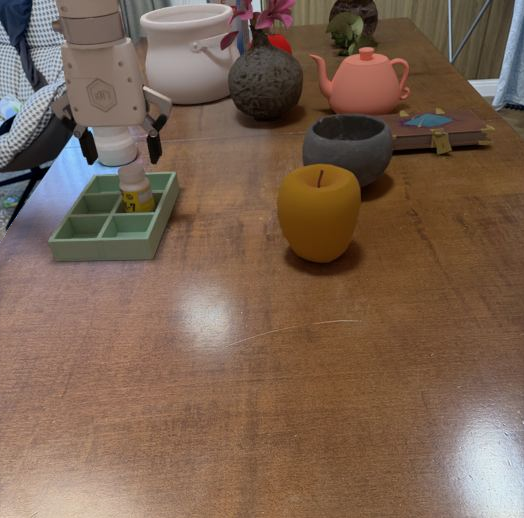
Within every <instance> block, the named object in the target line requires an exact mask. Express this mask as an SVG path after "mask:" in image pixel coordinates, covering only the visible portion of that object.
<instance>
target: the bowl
mask: <svg viewBox="0 0 524 518" xmlns="http://www.w3.org/2000/svg"><path fill="white" fill-rule="evenodd" d="M393 152H394V150H393V137H392V133H391V130H390V128H389V126H388V124H387V123H386V122H385V121H383V120H382V119H380V118H377V117H373V116H369V115H363V114H330V115H326V116H322V117H320V118H317V119H316V120H314V122H312V124H311V125H310V126H309V127H308V129H307V131H306V133H305V136H304V139H303V143H302V151H301V156H302V165H303V167H304V166H308V165H314V164H328V165H333V166H337V167H340V168H343V169H346V170H348V171H350V172H352V173H353V174H354V176H355V177H356V179H357V180H358V183H359V186H360V189H362V188H364V187H366V186H368V185H370V184H372V183H374V182H375V181H377V179H378V178H380V177H381V176H382V175H383V174H384V173H385V172H386V170H387V168H388V167H389V165H390V163H391V160H392V157H393Z"/></svg>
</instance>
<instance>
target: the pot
mask: <svg viewBox="0 0 524 518" xmlns="http://www.w3.org/2000/svg"><path fill="white" fill-rule="evenodd" d="M232 15H233V10H232V8H231V7H229V6H227V5H222V4H208V3H207V2H206V3H189V4H180V5H179V4H178V5H173V6H167V7H162V8H157V9H154V10H151V11H149V12H146V13H144V14H143V15H141V16H140V18H139V24H140V26H141V28H142V29H143V30H144V31H145V34H146V40H147V51H146V57H145V75H146V79H147V83H148V85H149V89H151V90H153V91H155V92H157V93H159V94H161V95H163V96H165V97H167V98H169V99H171V100H172V101H173V105H174V104H175V105H198V104H199V105H200V104H206V103H211V102H215V101H219V100H221V99H224V98H226V97H228V96H230V91H229V85H228V74H229V71H230V69H231V67H232V65H233V64H234V62H235V61H236V60H237V58H239V57H240V53H239V50H238V48H237V46H236V44H235V42H234V41H233V43H232V44H231V45H230V46H229V47H227V48H226V49H224V50H223V51H221V47H220V42H221V40H222V39H223V38H224V37H225V36H226V35H227V34H229V33H231V29H230V25H229V26H228V24H227V20H228V18H229V17H230V16H232Z"/></svg>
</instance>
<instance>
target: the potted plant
mask: <svg viewBox="0 0 524 518" xmlns="http://www.w3.org/2000/svg"><path fill="white" fill-rule="evenodd" d="M378 23H379V11H378V8H377V5H376V3H375V1H374V0H336V1H335V2H334V4H333V5H332V7H331V9H330V12H329V15H328V25H327V27H326V29H325V34H326V35H327V34H328V33H329V34H331V38H330V39H331V40H334V45H335V46H337V47H340V46H342V47H343V48H348V49H347V50H346V51H344V50H340V51H339V53H338V55H339V56H344V55H346V56H347V55H349V56H351V55H356V54H360V53H359V49H361V48H364V47H371V48H378V46H377V43H376V42H375V41H374V40H373V39H372V37H373V35H374V33H375V32H376V29H377V26H378ZM349 56H348V57H349Z"/></svg>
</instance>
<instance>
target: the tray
mask: <svg viewBox="0 0 524 518" xmlns="http://www.w3.org/2000/svg"><path fill="white" fill-rule="evenodd" d="M145 175H146V176H145V177H147V178H148V179H149V182H150V186H151V190H152V195H153V199H154V203H155V208H156V211H155V212H146V213H126V210H125V206H124V202H123V199H122V195H121V191H120V188H119V183H120V179H119V175H118V173H105V174H102V173H101V174H93V175H92V176H91V178H90V179H89V180H88V182H87V184H86V185H85V187H84V188H83V190H82V191H81V192H80V194H79V196H78V197H77V198H76V200H75V201H74V203H73V204H72V205H71V207H70V209H68V212H67V213H65V216H64V217H63V219H62V220H61V221H60V223H59V224H58V226H56V227H57V228H56V229H55V230H54V231H53V233H52V235H51V236H50V237H49V239H48V240H47V244H48V245H49V248H50V251H51V253H52V255H53V258H54V260H55V262H91V261H93V262H94V261H96V262H97V261H139V260H140V261H141V260H142V261H143V260H154V258H155V255H156V253H157V250H158V247H159V245H160V243H161V240H162V237H163V235H164V232H165V229H166V227H167V225H168V222H169V219H170V217H171V214H172V211H173V209H174V206H175V204H176V202H177V198H178V196H179V194H180V191H181V189H180V184H179V177H178V173H177V171H159V172H158V171H155V172H145Z"/></svg>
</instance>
